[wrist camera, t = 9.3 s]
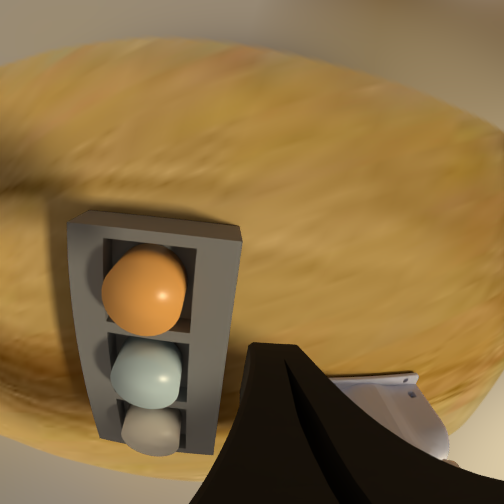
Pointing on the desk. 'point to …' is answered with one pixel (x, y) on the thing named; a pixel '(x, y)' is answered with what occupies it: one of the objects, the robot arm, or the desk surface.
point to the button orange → (145, 290)
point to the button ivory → (152, 430)
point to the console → (181, 334)
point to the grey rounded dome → (147, 372)
